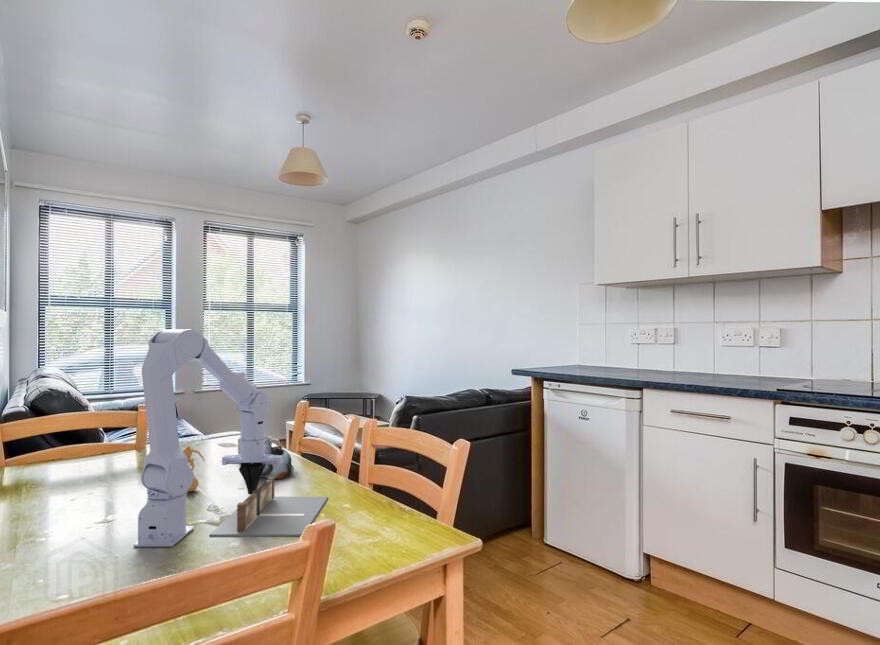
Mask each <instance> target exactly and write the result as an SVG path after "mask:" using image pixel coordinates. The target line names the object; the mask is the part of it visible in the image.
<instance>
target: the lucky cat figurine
mask: <svg viewBox="0 0 880 645" xmlns="http://www.w3.org/2000/svg"><path fill="white" fill-rule="evenodd" d="M265 454H270V455H283V463H282V464H281V465H276V464H266V465H265V468H264V469H263V472H262V474H261V476H260V478H262V477H263V478H267V479H268V478H269V477H274V480H277V481H278V480H279V481H282V480H284V479H287V478H289V477H290V476H291V475H293V473H294V472H295V468H294V465H293V464H292V456H291V454H290V453H289V452H288V451H287V450H285V449H284V448H282V445H281V444H280V445H278V446H277V445H276V446H272V445H271V444H270V443H269V441H268V440H267V439H265Z"/></svg>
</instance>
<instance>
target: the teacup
mask: <svg viewBox="0 0 880 645" xmlns="http://www.w3.org/2000/svg"><path fill="white" fill-rule="evenodd" d="M265 439H267V440H268V441H269V443H270V444H271V446H272V445H273V443H275V444H276V447H277V446H278V445H280V446H281V441H280V440H279V439H277V438H273V437H272V436H271V435H265ZM240 453H241V437H238V438H237V455H240Z"/></svg>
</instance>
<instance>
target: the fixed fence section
mask: <svg viewBox="0 0 880 645" xmlns="http://www.w3.org/2000/svg"><path fill="white" fill-rule="evenodd" d="M236 507H237V508H236V510H237V532H244V530H245V529H246V527H247V526H248V525H249V524H250V523H251V522H252V521H253V520H254V519H255V518H256V517H257V516H259V515H260V490H255V491H253V494H249V496H248V497H247V498H245V500H244V501H242V502H239V503H237V506H236Z"/></svg>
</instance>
